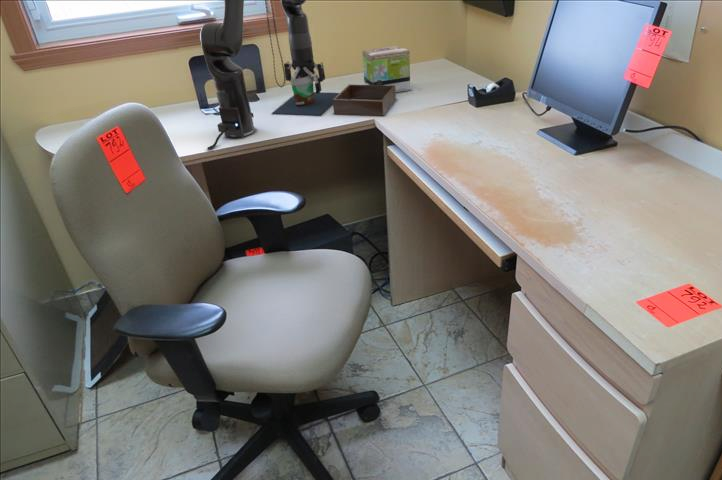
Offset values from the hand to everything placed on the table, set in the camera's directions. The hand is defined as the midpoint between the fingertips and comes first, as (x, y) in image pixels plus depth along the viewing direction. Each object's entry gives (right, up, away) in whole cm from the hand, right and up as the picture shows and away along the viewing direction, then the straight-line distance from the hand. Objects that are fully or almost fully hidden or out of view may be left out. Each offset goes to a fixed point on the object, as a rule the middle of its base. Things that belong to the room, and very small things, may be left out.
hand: (307, 92), depth 199 cm
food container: (0, -3, +2) cm, 4 cm away
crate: (+21, -6, -3) cm, 22 cm away
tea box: (+29, +4, +11) cm, 31 cm away
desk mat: (0, -3, +2) cm, 4 cm away
